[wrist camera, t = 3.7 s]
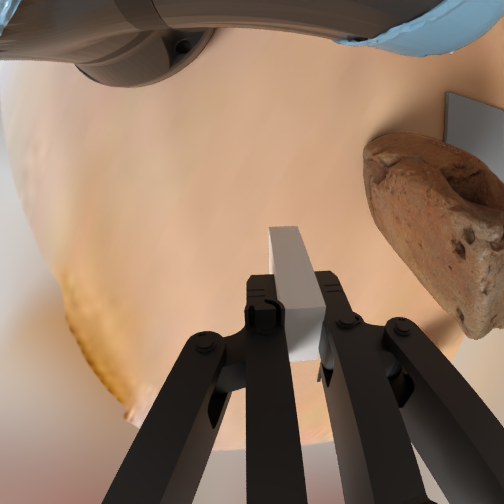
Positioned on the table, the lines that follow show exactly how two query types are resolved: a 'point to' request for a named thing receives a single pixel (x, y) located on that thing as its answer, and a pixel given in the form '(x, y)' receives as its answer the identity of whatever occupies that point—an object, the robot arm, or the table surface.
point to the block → (442, 223)
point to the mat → (476, 130)
